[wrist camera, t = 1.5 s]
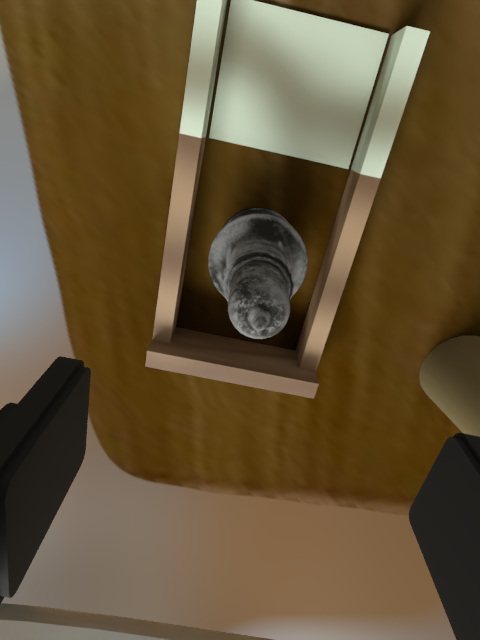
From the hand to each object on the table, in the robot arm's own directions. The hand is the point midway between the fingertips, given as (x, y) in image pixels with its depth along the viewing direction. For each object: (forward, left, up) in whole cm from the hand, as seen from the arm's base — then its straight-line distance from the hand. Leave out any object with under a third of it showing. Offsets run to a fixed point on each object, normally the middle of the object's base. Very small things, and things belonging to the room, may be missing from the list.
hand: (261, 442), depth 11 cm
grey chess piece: (0, 0, -19) cm, 19 cm away
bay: (-3, 0, -19) cm, 19 cm away
